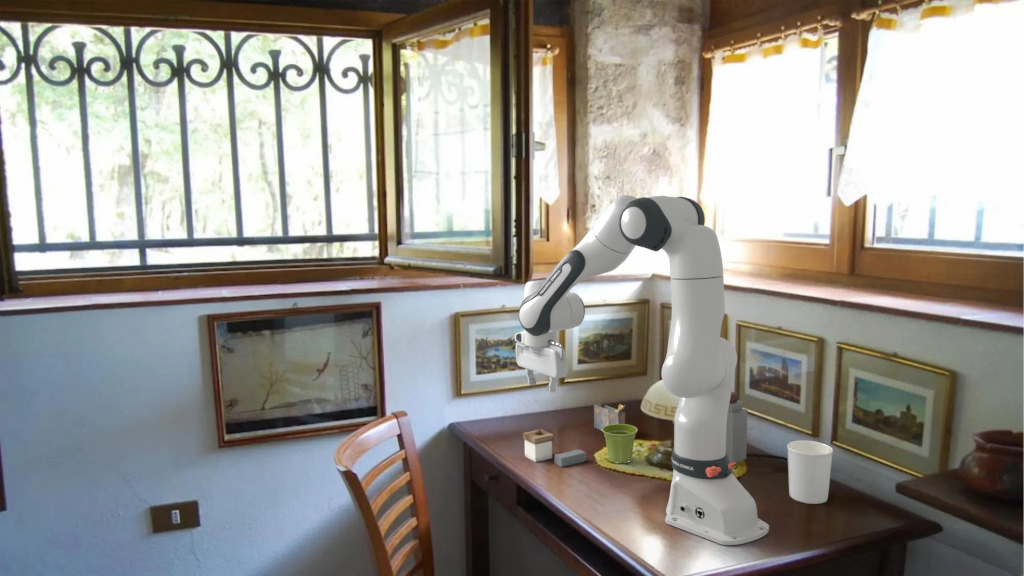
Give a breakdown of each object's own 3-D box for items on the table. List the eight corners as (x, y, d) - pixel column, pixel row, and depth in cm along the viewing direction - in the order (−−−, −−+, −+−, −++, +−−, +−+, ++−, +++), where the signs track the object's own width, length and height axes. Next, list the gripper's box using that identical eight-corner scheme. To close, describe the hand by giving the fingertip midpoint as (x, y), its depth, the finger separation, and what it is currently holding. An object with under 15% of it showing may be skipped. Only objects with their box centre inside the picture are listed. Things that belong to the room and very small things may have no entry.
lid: (553, 440, 197) (553, 431, 196) (535, 444, 194) (534, 435, 193) (541, 434, 202) (541, 425, 201) (523, 438, 199) (523, 429, 198)
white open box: (552, 458, 197) (551, 440, 197) (535, 462, 195) (535, 444, 194) (541, 452, 202) (541, 435, 201) (524, 456, 199) (524, 438, 199)
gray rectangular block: (585, 461, 195) (585, 452, 194) (561, 467, 191) (561, 458, 190) (578, 457, 197) (578, 449, 197) (554, 463, 193) (554, 454, 193)
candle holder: (776, 493, 171) (777, 443, 170) (808, 486, 175) (809, 437, 174) (808, 508, 162) (810, 457, 161) (840, 500, 166) (842, 450, 165)
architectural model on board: (626, 436, 215) (626, 405, 214) (618, 438, 214) (618, 406, 213) (601, 427, 225) (601, 396, 224) (594, 429, 223) (593, 398, 222)
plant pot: (627, 469, 188) (627, 436, 187) (595, 461, 194) (595, 430, 193) (643, 458, 196) (643, 427, 195) (612, 452, 201) (612, 421, 200)
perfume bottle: (732, 464, 190) (733, 397, 188) (710, 458, 195) (711, 393, 193) (746, 458, 195) (747, 393, 192) (724, 452, 200) (725, 388, 197)
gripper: (572, 342, 187) (573, 394, 189) (530, 331, 205) (531, 379, 206) (552, 345, 184) (553, 398, 186) (511, 333, 202) (512, 382, 203)
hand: (541, 388), depth 196 cm, fingers open, 8 cm apart
